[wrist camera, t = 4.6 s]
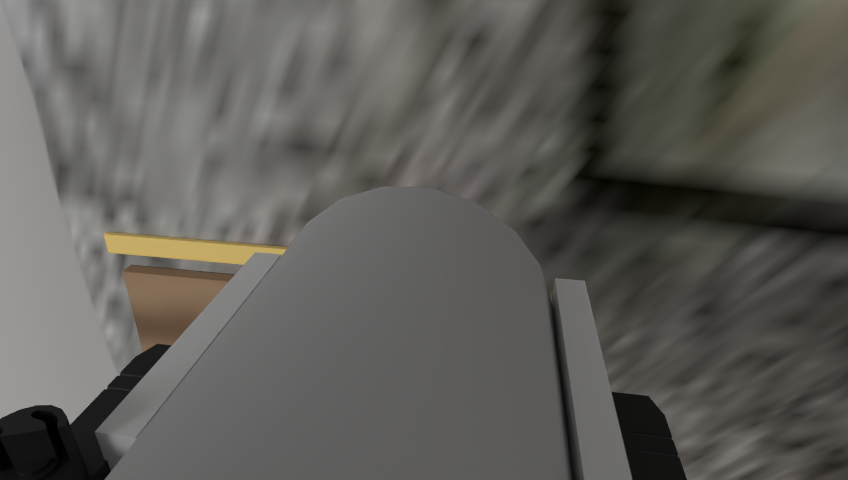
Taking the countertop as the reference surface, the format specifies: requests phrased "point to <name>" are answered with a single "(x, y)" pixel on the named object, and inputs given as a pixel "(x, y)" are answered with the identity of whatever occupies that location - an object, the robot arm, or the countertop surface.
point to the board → (169, 300)
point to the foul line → (185, 248)
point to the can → (376, 358)
